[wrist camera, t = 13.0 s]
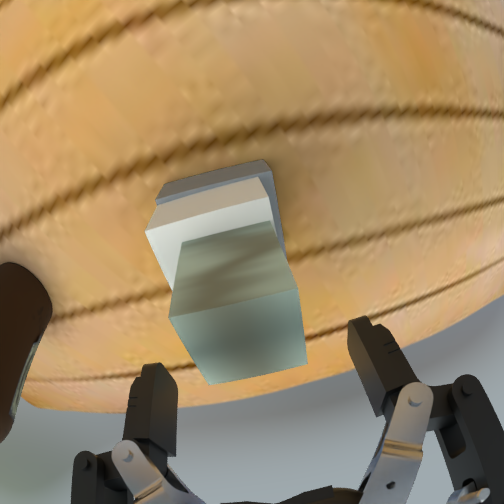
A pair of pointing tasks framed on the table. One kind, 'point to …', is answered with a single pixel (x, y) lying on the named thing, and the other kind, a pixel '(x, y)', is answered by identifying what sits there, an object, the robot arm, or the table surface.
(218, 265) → the sage block
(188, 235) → the cream top block
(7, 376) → the olive oil
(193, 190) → the slate base block
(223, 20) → the table surface
